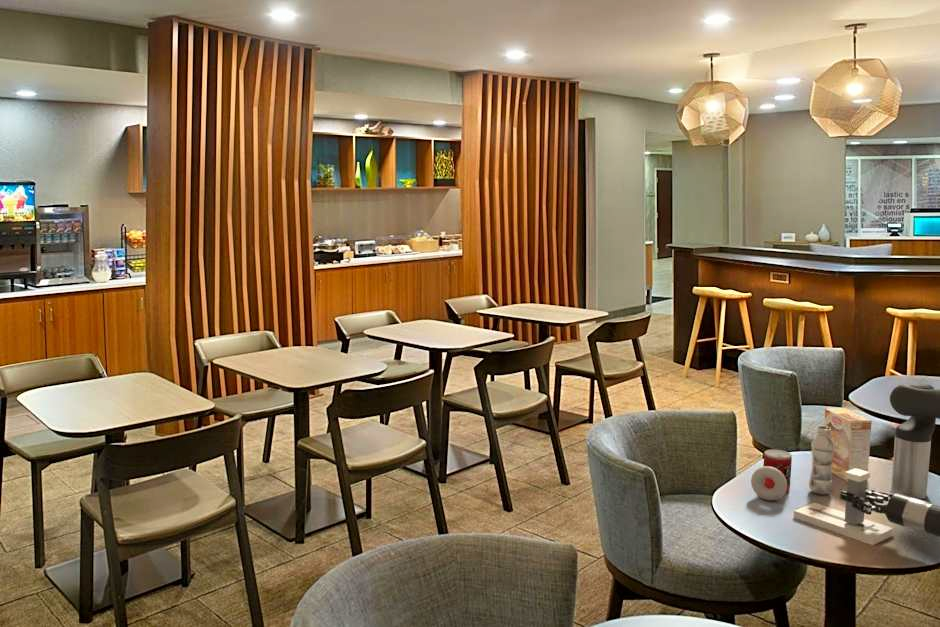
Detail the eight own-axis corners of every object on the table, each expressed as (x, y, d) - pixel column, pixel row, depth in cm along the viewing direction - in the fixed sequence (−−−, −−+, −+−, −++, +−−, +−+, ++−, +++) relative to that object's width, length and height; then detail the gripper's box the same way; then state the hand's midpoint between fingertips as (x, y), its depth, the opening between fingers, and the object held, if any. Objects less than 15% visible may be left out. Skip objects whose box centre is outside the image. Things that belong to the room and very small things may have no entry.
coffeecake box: (820, 466, 264) (824, 408, 262) (841, 465, 265) (845, 407, 262) (846, 482, 250) (850, 420, 247) (868, 481, 250) (872, 420, 248)
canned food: (777, 495, 239) (779, 459, 238) (756, 486, 246) (758, 451, 245) (795, 490, 243) (797, 455, 241) (774, 482, 250) (776, 447, 248)
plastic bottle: (827, 489, 244) (831, 424, 241) (835, 497, 237) (839, 431, 234) (805, 488, 244) (809, 424, 241) (812, 497, 238) (816, 430, 235)
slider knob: (851, 517, 217) (855, 468, 215) (866, 521, 213) (870, 472, 212) (841, 521, 214) (845, 471, 212) (856, 526, 211) (860, 476, 209)
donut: (787, 501, 234) (789, 468, 233) (784, 505, 231) (786, 471, 230) (751, 494, 240) (753, 462, 238) (748, 498, 237) (750, 465, 235)
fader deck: (814, 509, 228) (814, 502, 228) (892, 535, 211) (893, 527, 210) (793, 517, 222) (794, 510, 222) (872, 545, 205) (873, 537, 205)
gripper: (926, 492, 205) (860, 473, 218) (898, 505, 196) (831, 484, 210) (924, 520, 206) (858, 500, 220) (896, 534, 198) (829, 512, 211)
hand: (845, 492), depth 215 cm, fingers closed on slider knob, 4 cm apart
